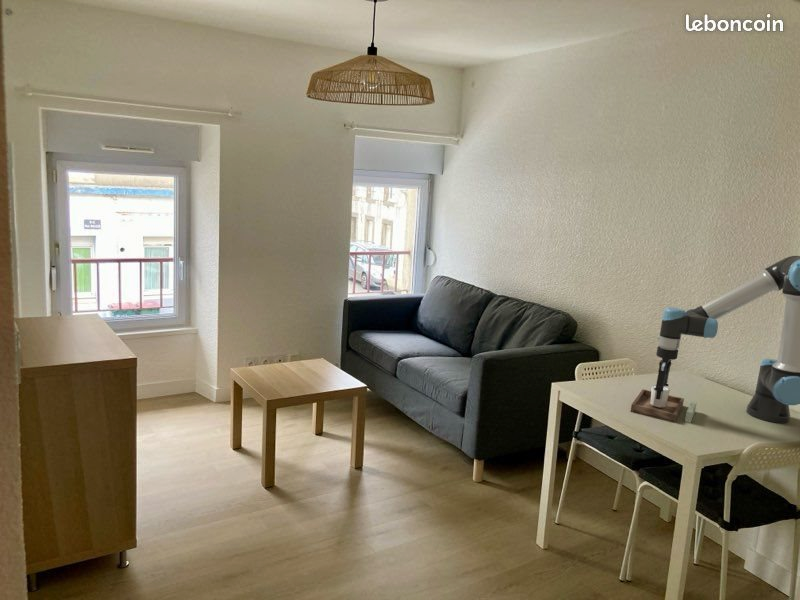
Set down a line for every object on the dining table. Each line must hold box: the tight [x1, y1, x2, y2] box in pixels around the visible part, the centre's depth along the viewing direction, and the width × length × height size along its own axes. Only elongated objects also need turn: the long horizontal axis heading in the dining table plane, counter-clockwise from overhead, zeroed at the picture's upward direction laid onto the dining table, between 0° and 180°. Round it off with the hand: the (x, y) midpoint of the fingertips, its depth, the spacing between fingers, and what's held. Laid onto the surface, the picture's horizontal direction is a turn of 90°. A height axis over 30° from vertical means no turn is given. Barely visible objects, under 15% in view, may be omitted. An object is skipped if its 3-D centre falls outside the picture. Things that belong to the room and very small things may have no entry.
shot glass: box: [650, 384, 671, 407], centre depth 252 cm, size 7×7×7 cm
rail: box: [684, 400, 698, 424], centre depth 247 cm, size 2×16×4 cm, turn 150°
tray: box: [630, 388, 685, 423], centre depth 253 cm, size 16×24×3 cm, turn 150°
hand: (658, 403), depth 253 cm, fingers closed on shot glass, 7 cm apart
